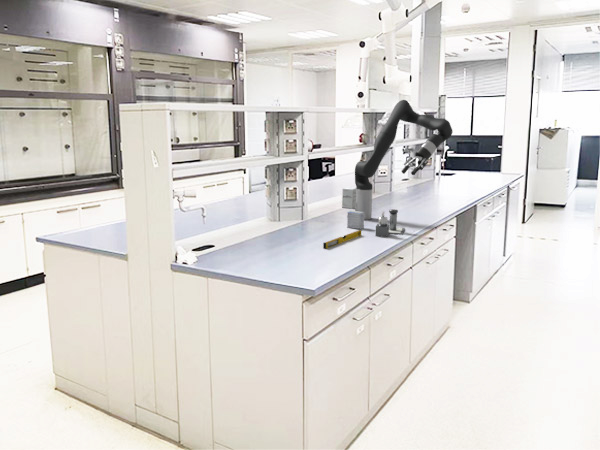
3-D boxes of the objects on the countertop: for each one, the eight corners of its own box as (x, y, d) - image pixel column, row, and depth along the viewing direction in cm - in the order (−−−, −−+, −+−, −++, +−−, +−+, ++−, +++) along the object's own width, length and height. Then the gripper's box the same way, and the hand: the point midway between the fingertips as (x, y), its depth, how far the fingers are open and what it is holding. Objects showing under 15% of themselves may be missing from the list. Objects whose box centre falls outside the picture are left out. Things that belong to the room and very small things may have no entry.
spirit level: (358, 235, 265) (359, 229, 264) (361, 236, 264) (361, 230, 263) (323, 249, 238) (323, 242, 237) (325, 249, 237) (325, 243, 236)
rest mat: (380, 233, 269) (380, 232, 268) (383, 227, 282) (383, 226, 282) (402, 234, 266) (402, 233, 265) (404, 229, 279) (404, 227, 279)
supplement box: (341, 207, 343) (342, 188, 340) (346, 206, 349) (346, 187, 347) (352, 208, 339) (352, 189, 337) (356, 207, 346) (357, 187, 343)
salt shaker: (386, 229, 274) (387, 209, 272) (393, 228, 276) (394, 209, 274) (392, 231, 271) (392, 211, 269) (399, 230, 273) (399, 210, 271)
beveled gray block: (375, 236, 262) (376, 212, 260) (377, 233, 268) (377, 210, 266) (387, 236, 261) (388, 213, 258) (388, 234, 266) (389, 210, 264)
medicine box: (363, 227, 282) (364, 211, 280) (360, 229, 278) (361, 213, 276) (350, 226, 286) (350, 210, 284) (346, 227, 282) (347, 211, 280)
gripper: (438, 157, 278) (419, 179, 276) (421, 155, 291) (403, 176, 289) (430, 147, 275) (411, 169, 273) (414, 145, 288) (395, 167, 286)
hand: (407, 173), depth 281 cm, fingers open, 8 cm apart
